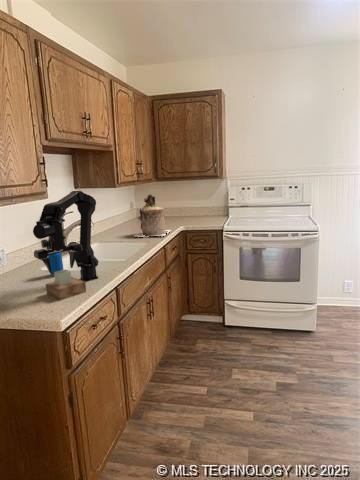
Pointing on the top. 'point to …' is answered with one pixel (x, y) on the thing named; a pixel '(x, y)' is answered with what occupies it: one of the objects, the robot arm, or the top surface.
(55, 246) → the robot arm
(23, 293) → the top surface
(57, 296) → the walnut block
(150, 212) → the cookie jar
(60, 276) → the sage green block
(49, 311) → the top surface
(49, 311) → the top surface
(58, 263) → the beverage can
